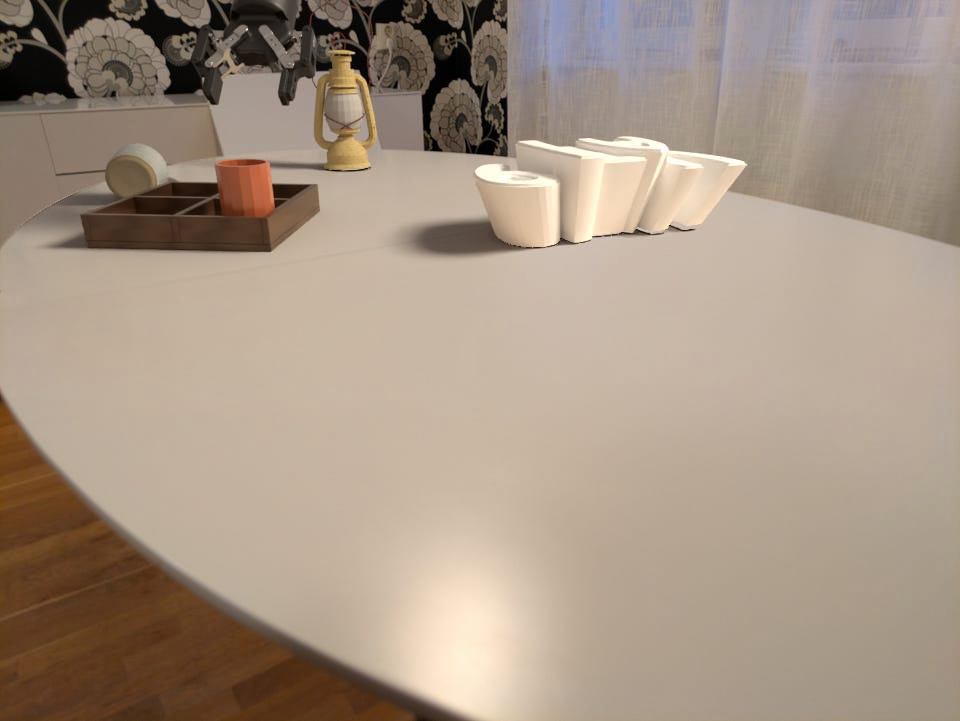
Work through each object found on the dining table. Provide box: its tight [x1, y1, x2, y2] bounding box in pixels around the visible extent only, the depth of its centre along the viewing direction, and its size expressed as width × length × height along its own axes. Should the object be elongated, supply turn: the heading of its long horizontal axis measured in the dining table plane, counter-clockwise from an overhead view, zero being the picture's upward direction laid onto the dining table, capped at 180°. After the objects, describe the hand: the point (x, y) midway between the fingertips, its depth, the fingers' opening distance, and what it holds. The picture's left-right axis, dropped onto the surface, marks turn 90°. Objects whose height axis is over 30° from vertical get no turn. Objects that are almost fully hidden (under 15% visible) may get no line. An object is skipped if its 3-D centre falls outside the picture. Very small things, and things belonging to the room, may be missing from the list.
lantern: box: [309, 0, 378, 170], centre depth 125 cm, size 12×10×30 cm
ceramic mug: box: [104, 143, 182, 200], centre depth 101 cm, size 11×8×8 cm
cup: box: [214, 158, 275, 217], centre depth 79 cm, size 6×6×8 cm
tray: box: [79, 181, 321, 252], centre depth 86 cm, size 21×21×4 cm
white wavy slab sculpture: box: [472, 136, 748, 249], centre depth 85 cm, size 35×16×11 cm, turn 111°
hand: (247, 100), depth 79 cm, fingers open, 8 cm apart
